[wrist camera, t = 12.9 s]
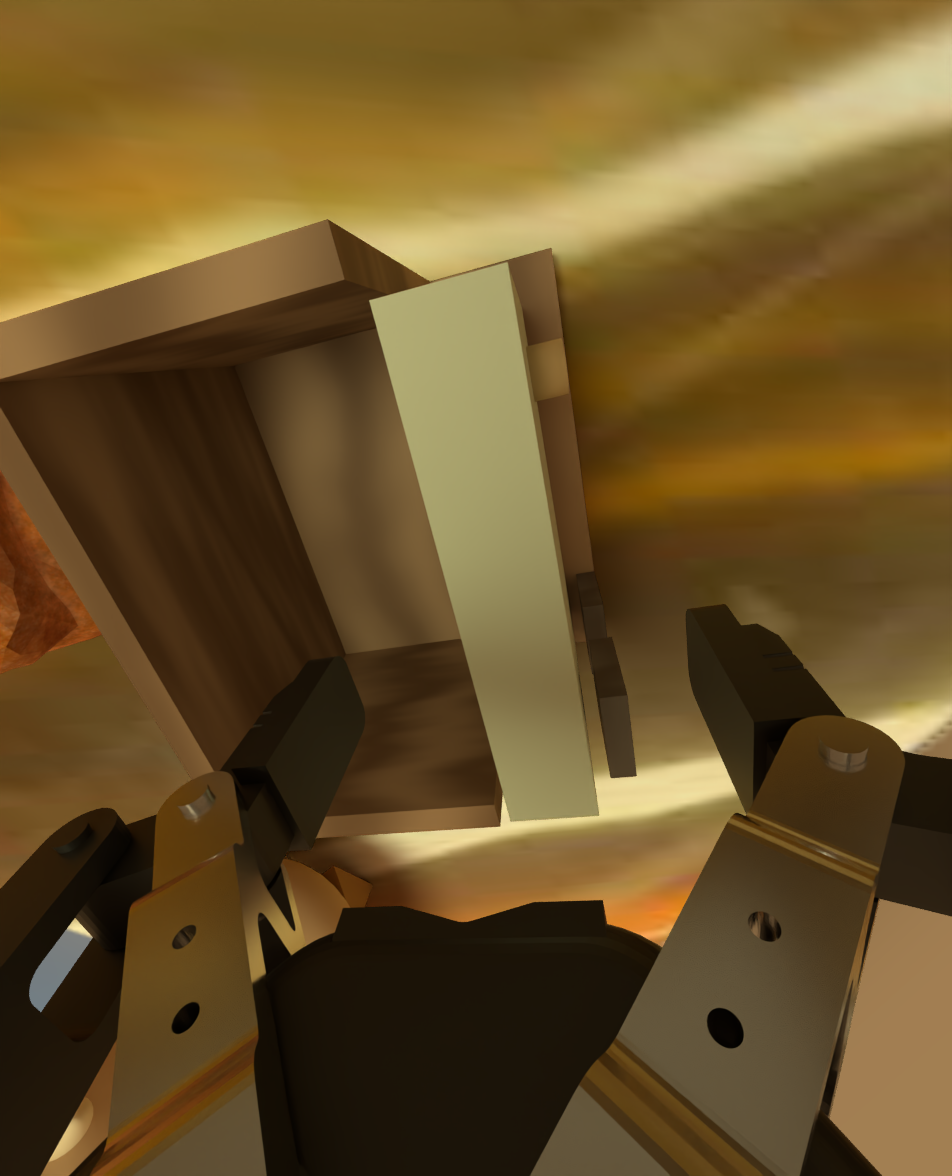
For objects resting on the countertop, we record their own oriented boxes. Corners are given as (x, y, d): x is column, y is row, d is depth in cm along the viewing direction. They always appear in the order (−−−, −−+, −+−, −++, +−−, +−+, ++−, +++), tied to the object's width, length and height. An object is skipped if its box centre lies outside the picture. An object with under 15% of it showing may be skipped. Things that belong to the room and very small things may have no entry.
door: (548, 301, 22) (567, 245, 10) (591, 610, 29) (636, 813, 16) (458, 324, 23) (369, 300, 11) (520, 620, 30) (510, 821, 17)
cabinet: (550, 253, 23) (571, 141, 10) (600, 626, 31) (645, 817, 18) (216, 345, 26) (-76, 346, 14) (341, 661, 34) (231, 843, 22)
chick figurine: (-44, 2068, 11) (-186, 1768, 20) (535, 1115, 34) (349, 1171, 43) (-68, 812, 24) (-149, 968, 33) (367, 730, 47) (250, 835, 56)
